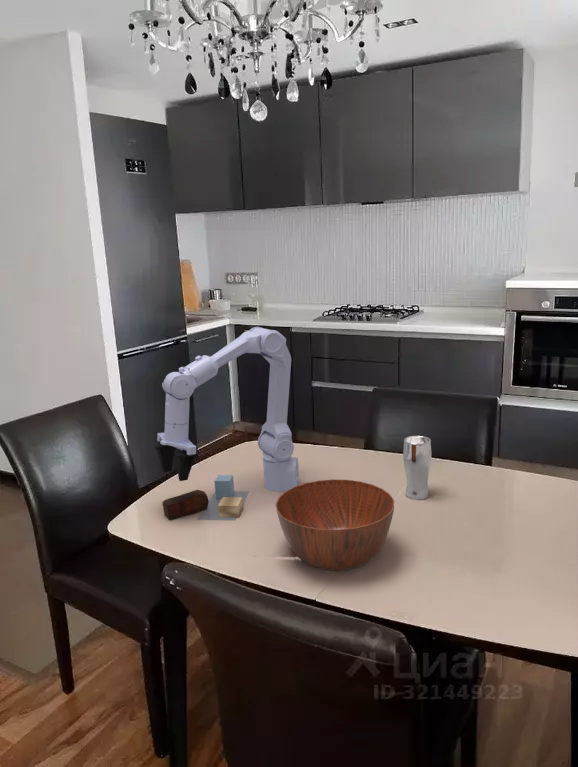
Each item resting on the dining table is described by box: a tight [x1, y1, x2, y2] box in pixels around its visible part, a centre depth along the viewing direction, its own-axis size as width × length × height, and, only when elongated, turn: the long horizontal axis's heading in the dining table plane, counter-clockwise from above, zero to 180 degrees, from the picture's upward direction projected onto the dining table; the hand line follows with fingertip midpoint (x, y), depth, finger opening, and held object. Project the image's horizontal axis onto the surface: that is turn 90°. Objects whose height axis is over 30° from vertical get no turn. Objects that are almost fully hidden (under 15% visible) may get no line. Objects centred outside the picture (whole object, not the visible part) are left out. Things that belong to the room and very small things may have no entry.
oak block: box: [218, 497, 244, 518], centre depth 148 cm, size 5×5×3 cm
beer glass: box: [402, 435, 432, 500], centre depth 154 cm, size 7×7×15 cm
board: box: [197, 490, 250, 521], centre depth 153 cm, size 10×17×1 cm, turn 172°
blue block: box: [214, 474, 235, 499], centre depth 158 cm, size 4×4×5 cm
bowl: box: [275, 478, 395, 571], centre depth 128 cm, size 25×25×11 cm
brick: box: [161, 489, 209, 521], centre depth 150 cm, size 11×4×5 cm, turn 122°
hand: (175, 475), depth 148 cm, fingers open, 7 cm apart
